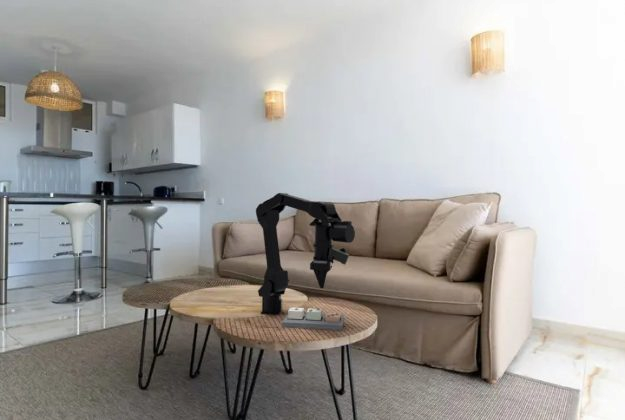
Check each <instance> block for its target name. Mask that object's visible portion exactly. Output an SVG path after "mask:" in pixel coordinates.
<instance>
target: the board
mask: <svg viewBox="0 0 625 420" xmlns="http://www.w3.org/2000/svg"><path fill="white" fill-rule="evenodd" d="M325 316H326V313H322V318H321V320H307V312H304V317H303V318H302V319H288V314H287V315H286V316H285V318H284V319H283V320H282V321H281V327H282V328H292V329H293V328H295V329H314V330H333V331H335V330H336V331H343V328H344V322H345V314H340V322H327V321H325Z"/></svg>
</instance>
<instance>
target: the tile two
mask: <svg viewBox="0 0 625 420" xmlns="http://www.w3.org/2000/svg"><path fill="white" fill-rule="evenodd" d="M306 313H307V320H321V318H322V314H323V308H309V307H308V309H307V311H306Z"/></svg>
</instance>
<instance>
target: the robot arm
mask: <svg viewBox="0 0 625 420" xmlns="http://www.w3.org/2000/svg"><path fill="white" fill-rule="evenodd" d="M286 207H288V208H293V209H295V210H298V211H302V212H305V213H307V215H309V216H310V217H312V218H314V219H313V221H311V222H310V223H309V226H310V227H314V243H313V247H314V249H313V250H314V252H313V253H314V254H313V259H312V261H311V262H310V263H309V270H311V271H313V273H314V275H315V278H316V281H317V283H318V285H319V288H320V289H324V288H325V285H326V284H325V283H326V280H327V277H328V272H330V271H331V270H332V267H333V265H332V264H334V262H335V261H336V262H339V263H341V264H342V265H346V264H347V261H348V259H349V257H350V254H349V253H348V252H347V249H346V248H344V247H341V248H339V249H338V248H335V247H334V244H333V242H336V243H346V244H351V243H352V242H354V239H355V237H356V235H355V234H356V231H355V227H354V226H353V225H352V221H351V220H344V221H343V220H342V218H341V217H340V214H338V212H337V208H336V206H335V204H334V203H333V202H328V201H327V202H325V201H313V200H310V199H305V198H302V197H299V196H295V195H291V194H289V193H284V192H278V193H276V194H275V195H273V197H272V196H271V197H270V198H269V199H266V200H265V201H263V202H261V203H260V204H258V205H257V207H256V208H255V213H256V214H255V215H256V219H257V223H259V226H260V227H261V229H262V234H263V243H264V251H265V259H266V270H265V273H264V275H263V284H262V285H261V286H260V287H259V289H258V290H257V295H258V297H261V298H262V300H261V311H260V315H276V316H277V315H278V316H279V315H280V313H281V312H282V311H283V298H282V295H284V294H285V292H286V289H287V287H289V282H290V280H289V275H288V274H289V272H288V270H284V269H283V267H282V265H281V263H282V262H281V254H280V248H279V247H280V246H279V239H278V229H277V228H278V223H279V221H280V214H281V213H282V212H283V211H284V210H285V208H286Z"/></svg>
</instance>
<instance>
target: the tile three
mask: <svg viewBox="0 0 625 420" xmlns="http://www.w3.org/2000/svg"><path fill="white" fill-rule="evenodd" d="M325 314H326V316H325V321H327V322H340V315H341V313H330V312H328V313H325Z"/></svg>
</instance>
